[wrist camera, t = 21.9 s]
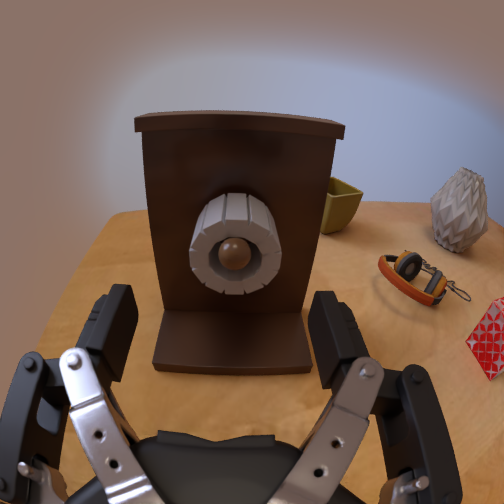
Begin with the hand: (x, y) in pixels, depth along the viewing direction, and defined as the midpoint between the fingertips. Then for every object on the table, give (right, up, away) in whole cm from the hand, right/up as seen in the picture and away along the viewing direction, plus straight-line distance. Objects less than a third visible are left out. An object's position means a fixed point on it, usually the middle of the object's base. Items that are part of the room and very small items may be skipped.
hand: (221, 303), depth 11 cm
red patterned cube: (+36, -13, +14) cm, 41 cm away
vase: (+48, +4, +41) cm, 63 cm away
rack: (-1, -7, +18) cm, 19 cm away
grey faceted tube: (0, +3, +10) cm, 11 cm away
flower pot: (+16, +7, +42) cm, 45 cm away
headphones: (+29, -4, +27) cm, 39 cm away
